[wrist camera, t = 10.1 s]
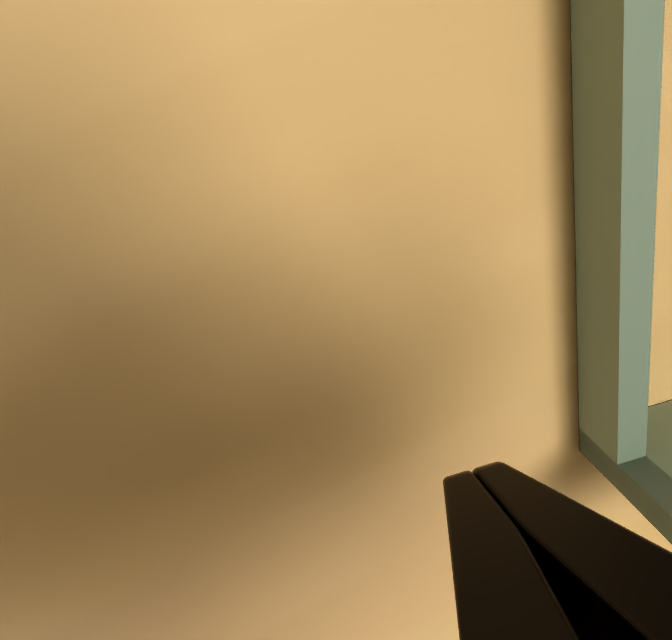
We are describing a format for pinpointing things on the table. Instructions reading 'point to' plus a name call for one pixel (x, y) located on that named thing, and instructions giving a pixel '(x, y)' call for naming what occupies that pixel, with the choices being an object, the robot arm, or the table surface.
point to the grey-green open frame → (619, 246)
